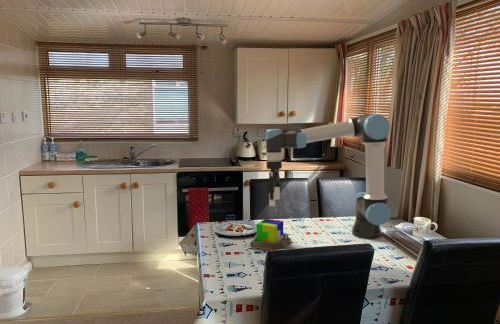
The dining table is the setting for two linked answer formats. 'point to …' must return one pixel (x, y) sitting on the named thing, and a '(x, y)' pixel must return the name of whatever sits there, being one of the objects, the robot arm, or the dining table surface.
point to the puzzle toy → (270, 231)
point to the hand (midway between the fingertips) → (274, 202)
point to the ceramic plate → (237, 228)
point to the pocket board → (270, 244)
